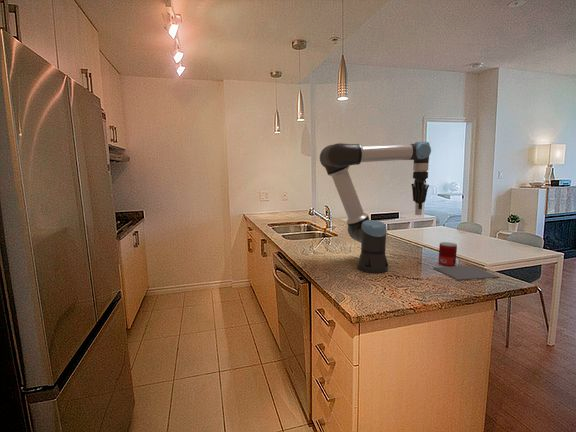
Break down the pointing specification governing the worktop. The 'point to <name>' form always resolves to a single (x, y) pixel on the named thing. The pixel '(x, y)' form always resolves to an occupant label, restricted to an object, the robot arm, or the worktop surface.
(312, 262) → the worktop surface
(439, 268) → the rubber mat
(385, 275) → the worktop surface
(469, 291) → the worktop surface
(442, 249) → the canned food
